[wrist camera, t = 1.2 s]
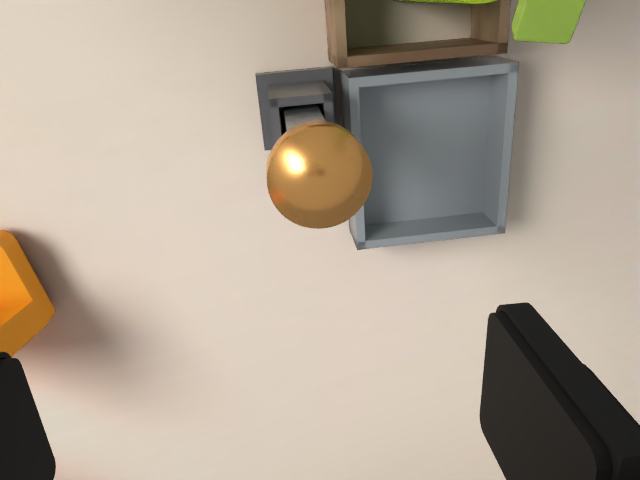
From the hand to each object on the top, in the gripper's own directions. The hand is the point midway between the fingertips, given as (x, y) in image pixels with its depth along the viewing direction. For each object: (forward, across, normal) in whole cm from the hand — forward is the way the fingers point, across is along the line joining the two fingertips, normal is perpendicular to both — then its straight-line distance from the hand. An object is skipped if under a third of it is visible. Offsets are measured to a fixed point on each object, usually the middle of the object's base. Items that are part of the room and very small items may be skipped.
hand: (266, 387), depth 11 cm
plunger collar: (+28, -2, -1) cm, 28 cm away
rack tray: (+28, -10, +3) cm, 30 cm away
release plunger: (+25, -2, -1) cm, 25 cm away
